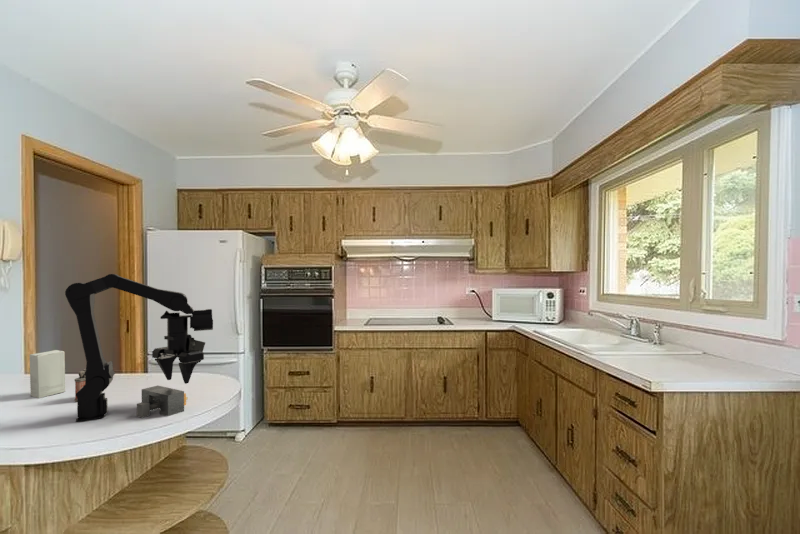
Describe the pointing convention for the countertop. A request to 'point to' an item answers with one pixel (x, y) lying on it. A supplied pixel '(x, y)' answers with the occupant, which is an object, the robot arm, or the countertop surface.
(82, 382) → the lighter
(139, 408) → the plug
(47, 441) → the countertop surface
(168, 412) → the gray bridge-shaped block
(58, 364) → the skincare box
